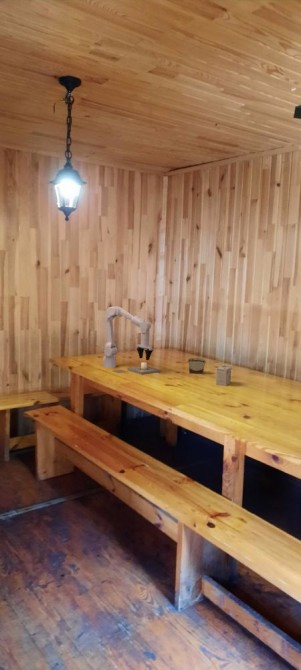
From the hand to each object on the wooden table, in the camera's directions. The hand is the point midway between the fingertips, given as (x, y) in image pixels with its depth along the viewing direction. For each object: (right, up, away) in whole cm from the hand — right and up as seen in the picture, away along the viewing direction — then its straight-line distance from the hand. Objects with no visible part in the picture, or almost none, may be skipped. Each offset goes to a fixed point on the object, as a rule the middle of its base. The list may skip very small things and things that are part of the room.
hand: (144, 359), depth 333 cm
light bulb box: (+50, -15, -24) cm, 58 cm away
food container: (+36, -10, +6) cm, 38 cm away
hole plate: (0, -9, +1) cm, 9 cm away
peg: (0, -9, +1) cm, 9 cm away
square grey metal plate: (-16, -9, -2) cm, 19 cm away
